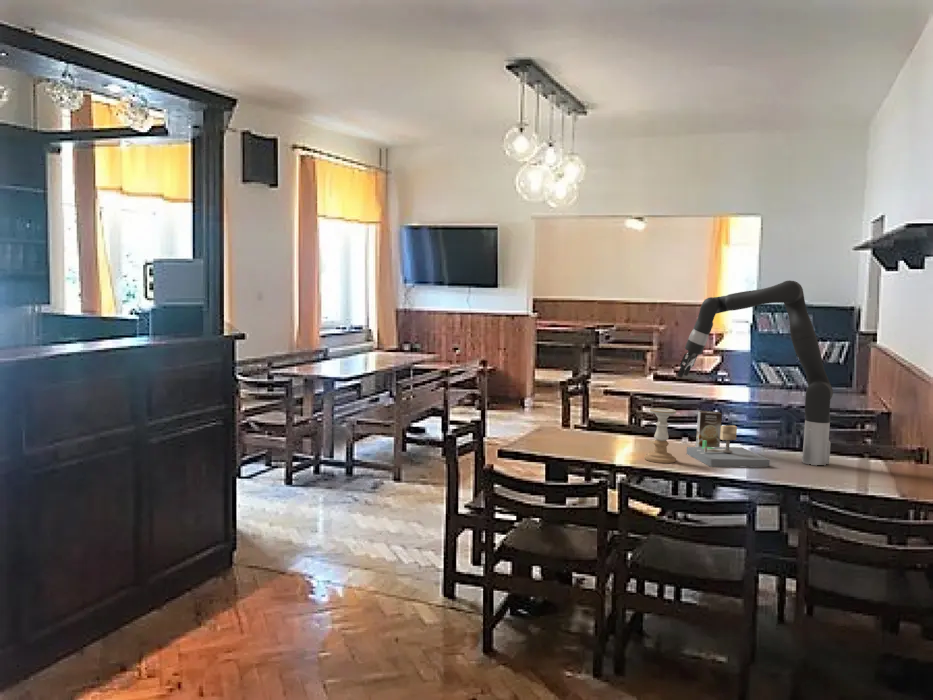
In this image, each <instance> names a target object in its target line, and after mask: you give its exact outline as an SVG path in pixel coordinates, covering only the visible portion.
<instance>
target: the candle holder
mask: <svg viewBox="0 0 933 700" xmlns="http://www.w3.org/2000/svg"><path fill="white" fill-rule="evenodd" d="M649 412H650V414H651V413H652V414H655V416H656V417H657V422H655V426H656V430H655V433H654V435H653V437H654V439H655V440H654V441H653V444H654V451H649V453H647V454H645V455H644V460H645V461H648V462H651V463H659V464H672V463H675V462H676V461H677V457H675V456H674V455H672V453H670V452H668V450H667V447H668V446H669V442H668V439H669V437H670V436H669V433H668V427H669V425H670V424H669V423H668V418H670V416H671V415H676V414H677V410H675V409H672V408H665V407H652V408H649Z"/></svg>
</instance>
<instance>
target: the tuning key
mask: <svg viewBox="0 0 933 700" xmlns="http://www.w3.org/2000/svg"><path fill="white" fill-rule="evenodd" d="M737 429H738V426H736V425H721V431H720V441H721V440H722V441H725V447H726V449H707V447H704V452H724V453H732V452H733V450H729V447H730V446H731V445H730V444H731V443H730V441H736V440H737V432H738V431H737Z"/></svg>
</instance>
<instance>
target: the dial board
mask: <svg viewBox="0 0 933 700" xmlns="http://www.w3.org/2000/svg"><path fill="white" fill-rule="evenodd" d="M704 447H707V441H706V440H703V443H702V447H696V446H686V455H687V454H688V455H687V456H690V457H691V458H694V459H695V460H696V461H699V462H701V463H703V464H705V465H707V466H708V467H710V468H741V467H740V466H769V467H770V462H771V461H770V459H769V458H767V457H764V456H763V455H761V454H758V453H756V452H753V451H752V450H748V449H746V448H744V447H740V446H738V447H735V446H734V447H733V446H729V450H733V452H732V453H724V452H704ZM707 449H726V446H725V447H724V446H720V447H707Z"/></svg>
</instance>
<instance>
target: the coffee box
mask: <svg viewBox="0 0 933 700" xmlns="http://www.w3.org/2000/svg"><path fill="white" fill-rule="evenodd" d="M722 417H723V414H722V412H720V411H713V410H712V411H711V410H710V411H709V410H698V413H697V423H696V435H695V437H696V438H695V447H702V443H703V440H706V441H707V447H721V446H720V445H721V439H720V431H721V426H722V419H723V418H722Z"/></svg>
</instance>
